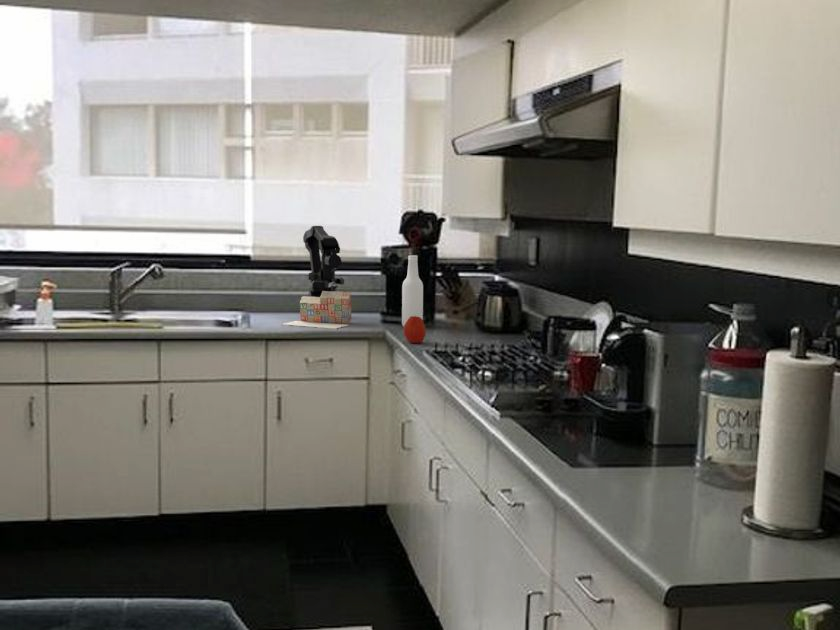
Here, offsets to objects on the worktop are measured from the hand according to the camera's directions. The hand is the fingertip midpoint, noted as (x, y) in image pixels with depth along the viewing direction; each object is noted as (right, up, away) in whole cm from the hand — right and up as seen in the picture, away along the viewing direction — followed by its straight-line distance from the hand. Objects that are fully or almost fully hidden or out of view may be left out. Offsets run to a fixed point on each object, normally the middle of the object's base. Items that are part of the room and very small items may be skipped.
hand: (328, 302), depth 395 cm
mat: (-5, -10, -10) cm, 15 cm away
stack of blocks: (-1, -8, -1) cm, 8 cm away
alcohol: (+36, -11, -10) cm, 39 cm away
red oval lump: (+38, -16, -52) cm, 66 cm away
